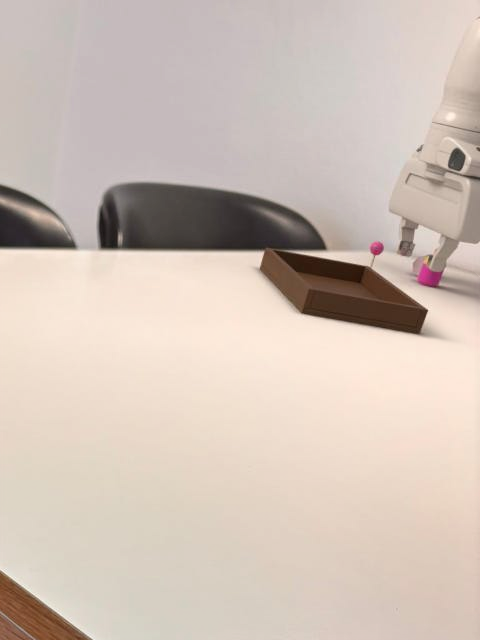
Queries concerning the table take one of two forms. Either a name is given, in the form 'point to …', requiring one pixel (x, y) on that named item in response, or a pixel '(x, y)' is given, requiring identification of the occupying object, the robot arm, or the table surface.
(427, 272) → the candy
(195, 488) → the table surface
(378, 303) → the tray
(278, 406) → the table surface
